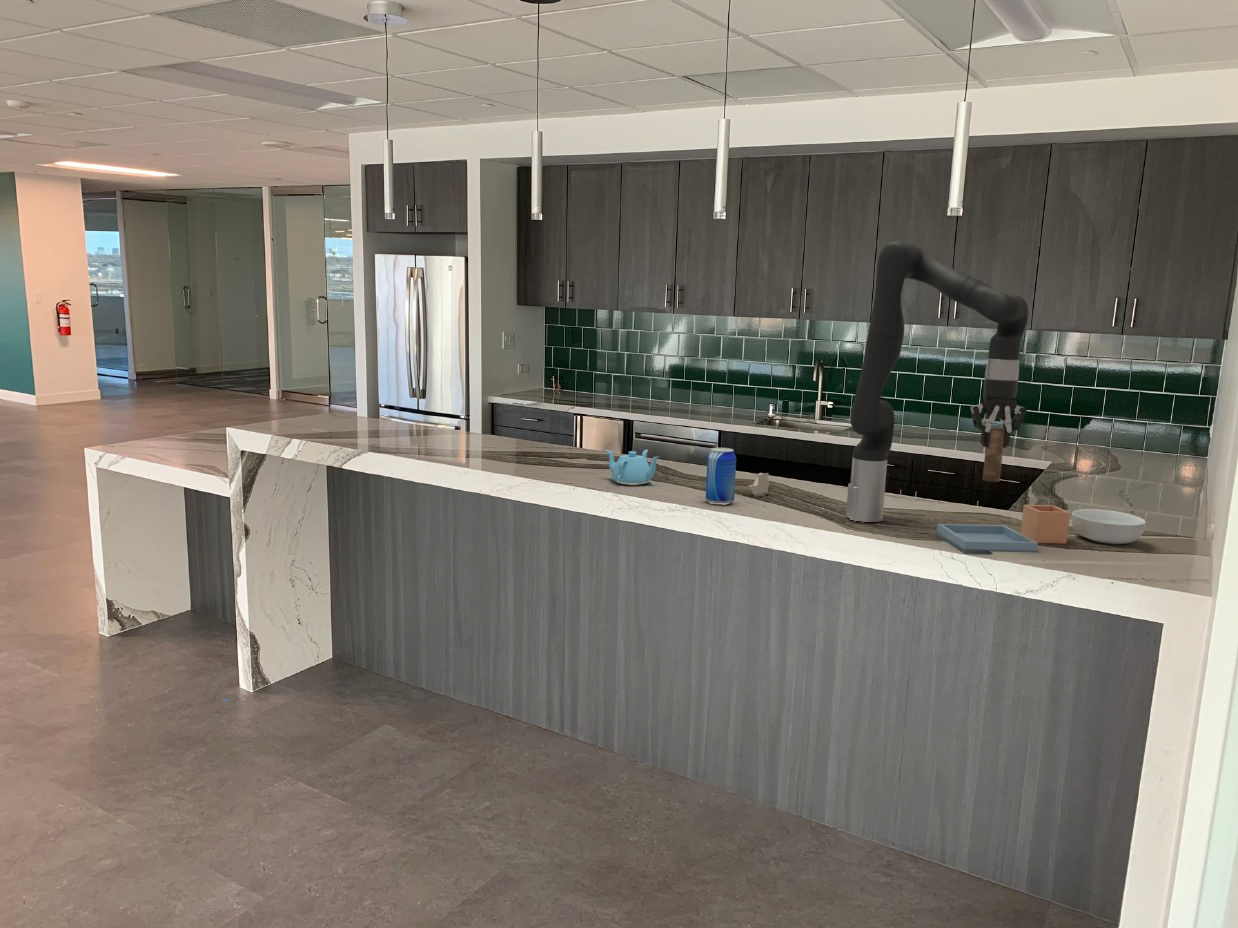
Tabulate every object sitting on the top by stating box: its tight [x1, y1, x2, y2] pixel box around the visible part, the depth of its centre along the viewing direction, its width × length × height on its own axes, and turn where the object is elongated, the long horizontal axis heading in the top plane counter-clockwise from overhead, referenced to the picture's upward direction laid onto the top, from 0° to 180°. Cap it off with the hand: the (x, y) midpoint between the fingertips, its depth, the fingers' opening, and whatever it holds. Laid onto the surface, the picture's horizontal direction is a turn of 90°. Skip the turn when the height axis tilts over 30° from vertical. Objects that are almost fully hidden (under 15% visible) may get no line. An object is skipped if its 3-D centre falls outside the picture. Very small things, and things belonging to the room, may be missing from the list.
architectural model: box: [748, 472, 770, 494], centre depth 286 cm, size 3×7×7 cm, turn 138°
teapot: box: [605, 448, 661, 483], centre depth 299 cm, size 15×15×10 cm
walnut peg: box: [982, 426, 1005, 483], centre depth 230 cm, size 4×4×13 cm
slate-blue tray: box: [935, 523, 1039, 555], centre depth 234 cm, size 18×18×3 cm
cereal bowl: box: [1070, 508, 1147, 545], centre depth 240 cm, size 17×17×7 cm
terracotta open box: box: [1020, 504, 1071, 545], centre depth 238 cm, size 8×8×9 cm
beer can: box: [705, 447, 737, 504], centre depth 272 cm, size 8×8×16 cm
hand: (994, 446), depth 230 cm, fingers closed on walnut peg, 4 cm apart
